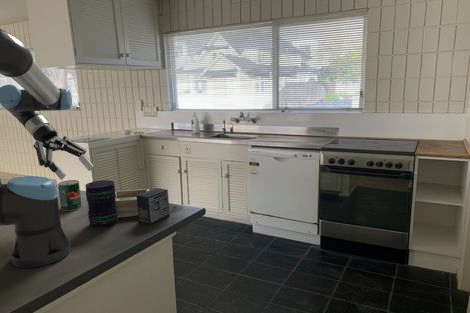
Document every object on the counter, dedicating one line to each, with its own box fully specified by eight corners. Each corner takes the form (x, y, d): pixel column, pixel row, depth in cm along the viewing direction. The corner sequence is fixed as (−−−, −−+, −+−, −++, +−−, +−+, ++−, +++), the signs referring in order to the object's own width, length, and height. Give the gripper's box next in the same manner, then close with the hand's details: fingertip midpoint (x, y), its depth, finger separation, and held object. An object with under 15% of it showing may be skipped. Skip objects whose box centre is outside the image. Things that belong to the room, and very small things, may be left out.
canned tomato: (66, 205, 148) (63, 180, 146) (84, 204, 148) (82, 179, 146) (57, 211, 140) (54, 185, 138) (77, 210, 140) (74, 184, 138)
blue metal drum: (110, 216, 133) (107, 178, 130) (123, 223, 126) (119, 183, 123) (84, 223, 126) (80, 184, 123) (96, 231, 119) (91, 189, 116)
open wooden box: (149, 214, 134) (148, 198, 133) (111, 218, 131) (110, 201, 130) (150, 203, 147) (149, 188, 146) (116, 206, 145) (114, 191, 143)
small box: (157, 212, 136) (156, 187, 134) (170, 215, 132) (168, 189, 130) (137, 221, 127) (135, 194, 125) (150, 225, 124) (148, 196, 122)
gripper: (63, 133, 141) (96, 171, 139) (6, 142, 118) (44, 188, 116) (72, 120, 139) (106, 159, 137) (15, 127, 116) (55, 174, 114)
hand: (78, 172), depth 126 cm, fingers open, 13 cm apart
